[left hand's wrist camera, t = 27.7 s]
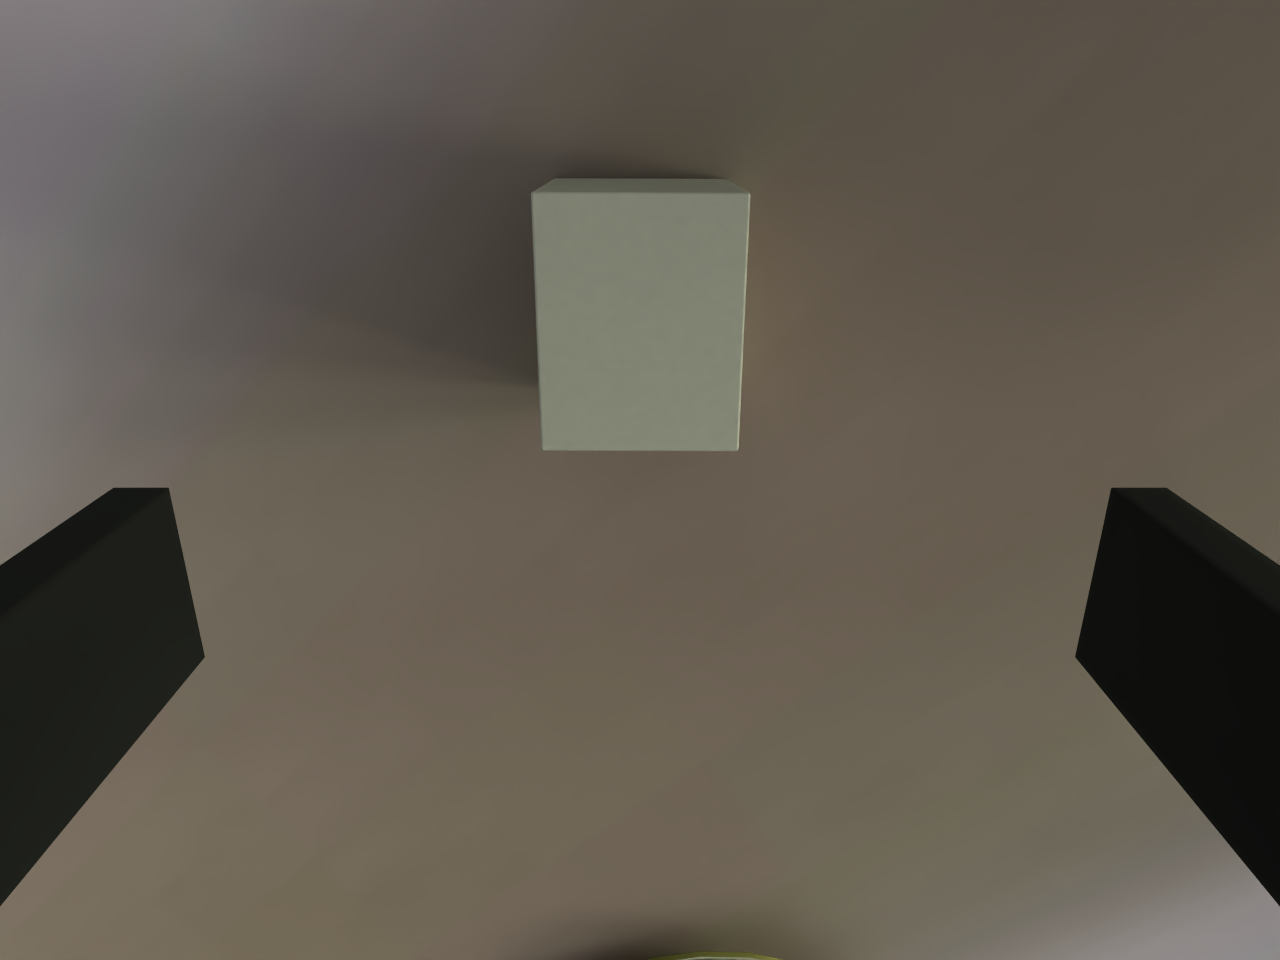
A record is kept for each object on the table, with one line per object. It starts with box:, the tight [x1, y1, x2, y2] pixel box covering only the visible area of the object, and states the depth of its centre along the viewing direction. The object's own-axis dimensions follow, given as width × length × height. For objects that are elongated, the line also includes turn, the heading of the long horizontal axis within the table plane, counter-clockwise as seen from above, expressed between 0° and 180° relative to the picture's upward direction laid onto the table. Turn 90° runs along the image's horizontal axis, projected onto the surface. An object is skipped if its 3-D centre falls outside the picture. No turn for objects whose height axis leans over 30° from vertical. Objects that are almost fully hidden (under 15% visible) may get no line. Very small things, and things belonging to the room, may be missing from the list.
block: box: [531, 178, 750, 451], centre depth 31 cm, size 7×8×7 cm
